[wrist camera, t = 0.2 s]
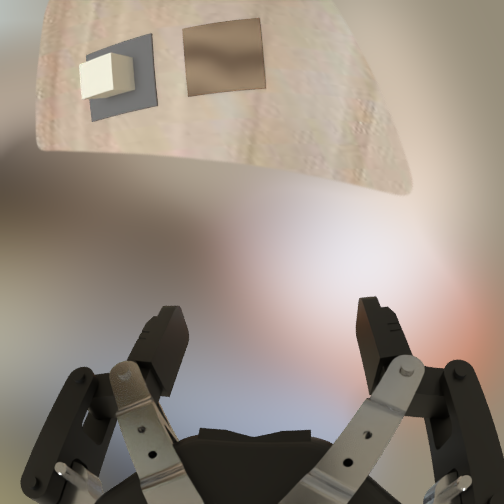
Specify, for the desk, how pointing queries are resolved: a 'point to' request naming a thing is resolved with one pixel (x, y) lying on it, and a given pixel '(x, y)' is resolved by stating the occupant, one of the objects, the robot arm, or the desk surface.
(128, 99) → the mat
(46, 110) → the desk surface
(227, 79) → the walnut board
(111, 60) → the white block
